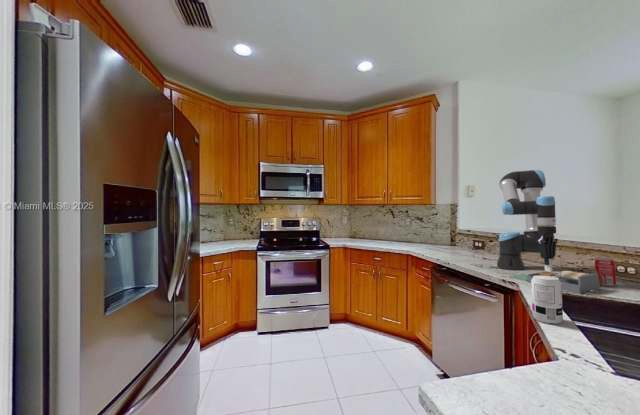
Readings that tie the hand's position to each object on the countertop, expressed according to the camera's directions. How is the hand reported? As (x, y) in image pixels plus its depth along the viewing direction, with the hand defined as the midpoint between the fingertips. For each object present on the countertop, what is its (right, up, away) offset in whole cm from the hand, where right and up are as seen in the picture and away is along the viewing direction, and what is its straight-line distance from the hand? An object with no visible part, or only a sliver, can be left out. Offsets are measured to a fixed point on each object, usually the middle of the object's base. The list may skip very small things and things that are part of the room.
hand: (548, 271), depth 144 cm
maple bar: (+4, -1, -10) cm, 11 cm away
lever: (+2, -2, -6) cm, 7 cm away
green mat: (-4, -7, +12) cm, 14 cm away
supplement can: (-39, -7, -47) cm, 61 cm away
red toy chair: (+23, -6, -7) cm, 24 cm away
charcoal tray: (+2, -6, -5) cm, 8 cm away
